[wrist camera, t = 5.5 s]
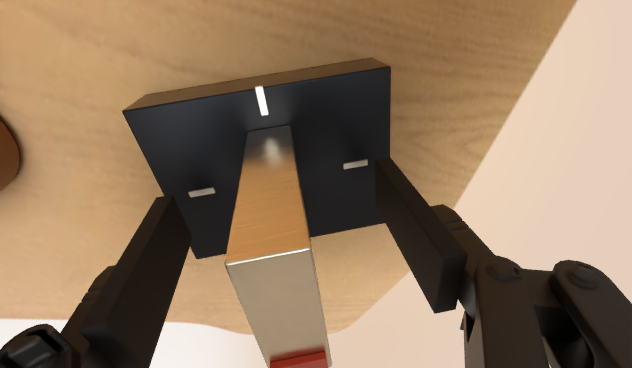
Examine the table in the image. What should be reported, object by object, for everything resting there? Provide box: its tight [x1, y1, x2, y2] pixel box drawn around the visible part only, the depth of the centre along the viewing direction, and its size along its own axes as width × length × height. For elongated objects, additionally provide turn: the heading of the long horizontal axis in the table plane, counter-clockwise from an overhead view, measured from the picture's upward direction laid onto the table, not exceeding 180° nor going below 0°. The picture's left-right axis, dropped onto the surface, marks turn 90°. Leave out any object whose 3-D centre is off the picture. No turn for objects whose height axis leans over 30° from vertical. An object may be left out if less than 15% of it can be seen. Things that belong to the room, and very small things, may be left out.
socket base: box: [122, 58, 391, 259], centre depth 17 cm, size 13×10×3 cm
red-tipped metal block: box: [225, 125, 332, 368], centre depth 12 cm, size 6×2×9 cm, turn 7°
